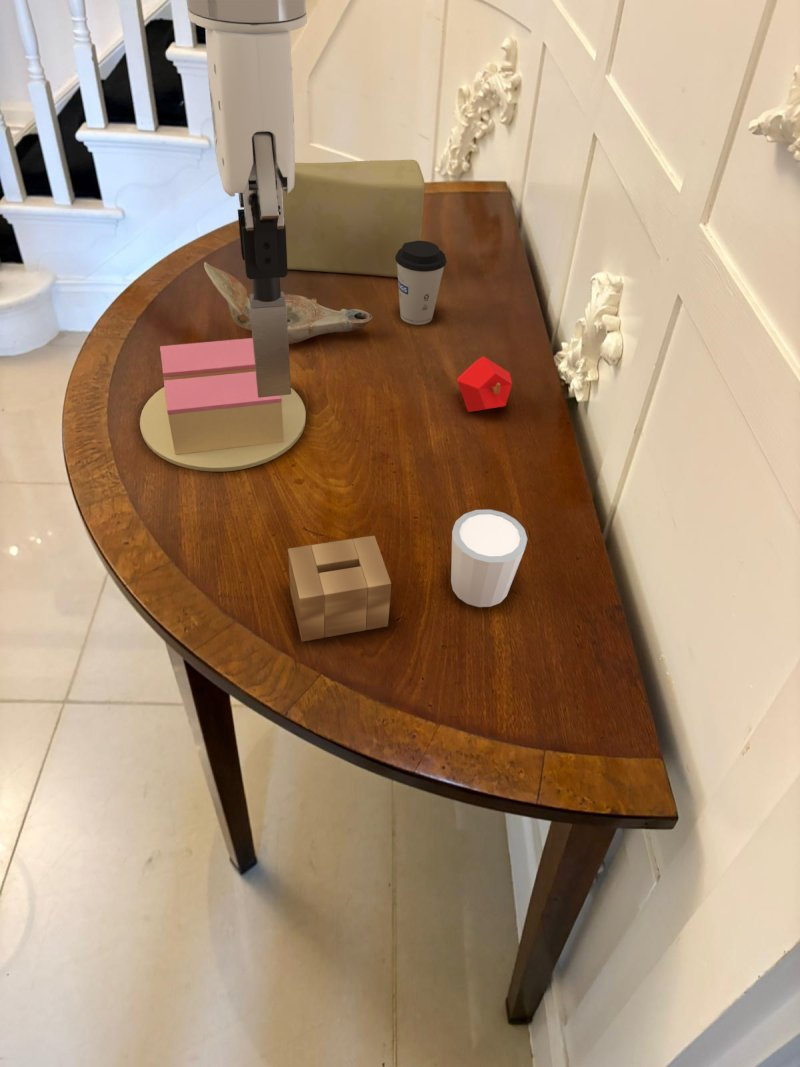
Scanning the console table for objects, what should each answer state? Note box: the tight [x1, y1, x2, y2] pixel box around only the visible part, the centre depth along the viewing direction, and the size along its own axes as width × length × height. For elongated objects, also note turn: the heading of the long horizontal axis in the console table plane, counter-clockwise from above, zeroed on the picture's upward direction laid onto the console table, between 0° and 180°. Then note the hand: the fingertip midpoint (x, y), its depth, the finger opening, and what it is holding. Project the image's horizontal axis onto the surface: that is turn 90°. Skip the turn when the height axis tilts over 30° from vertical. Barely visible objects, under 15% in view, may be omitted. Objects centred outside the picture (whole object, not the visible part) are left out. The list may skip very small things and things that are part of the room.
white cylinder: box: [450, 509, 528, 608], centre depth 74 cm, size 7×7×7 cm
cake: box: [139, 337, 307, 473], centre depth 90 cm, size 19×19×7 cm
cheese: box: [282, 159, 426, 279], centre depth 115 cm, size 22×10×15 cm, turn 96°
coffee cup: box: [395, 240, 447, 326], centre depth 108 cm, size 7×7×10 cm
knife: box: [249, 198, 292, 398], centre depth 65 cm, size 3×2×18 cm
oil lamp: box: [203, 261, 373, 345], centre depth 103 cm, size 9×21×10 cm, turn 94°
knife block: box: [287, 535, 392, 643], centre depth 71 cm, size 8×6×6 cm
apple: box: [456, 356, 513, 413], centre depth 95 cm, size 7×7×8 cm
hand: (264, 265), depth 62 cm, fingers closed on knife, 2 cm apart
